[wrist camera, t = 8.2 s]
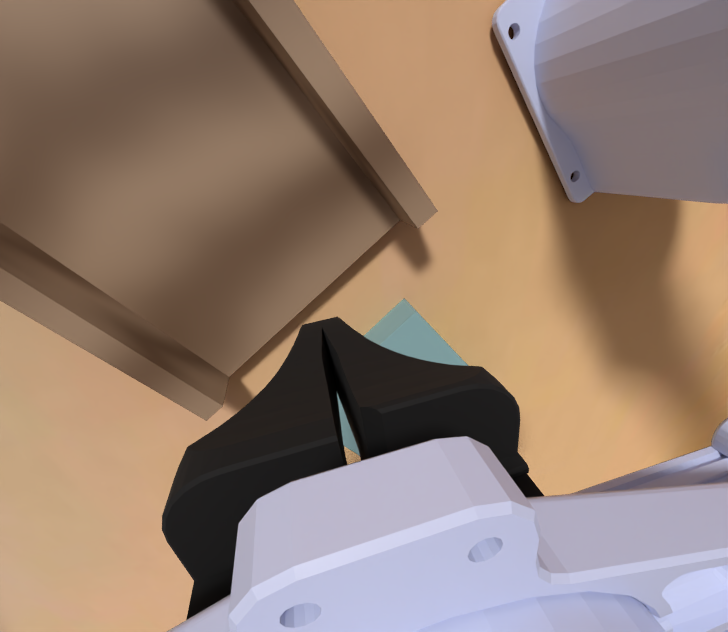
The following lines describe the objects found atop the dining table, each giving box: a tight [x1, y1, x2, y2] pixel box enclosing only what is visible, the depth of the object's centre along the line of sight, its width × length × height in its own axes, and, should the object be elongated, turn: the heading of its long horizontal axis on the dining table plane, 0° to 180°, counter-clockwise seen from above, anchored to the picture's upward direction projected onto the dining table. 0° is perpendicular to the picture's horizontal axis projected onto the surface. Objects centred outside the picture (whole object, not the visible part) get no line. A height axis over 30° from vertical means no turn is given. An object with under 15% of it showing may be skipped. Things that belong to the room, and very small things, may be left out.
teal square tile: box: [337, 299, 468, 456], centre depth 20 cm, size 9×8×2 cm
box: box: [0, 0, 438, 421], centre depth 11 cm, size 19×13×3 cm
